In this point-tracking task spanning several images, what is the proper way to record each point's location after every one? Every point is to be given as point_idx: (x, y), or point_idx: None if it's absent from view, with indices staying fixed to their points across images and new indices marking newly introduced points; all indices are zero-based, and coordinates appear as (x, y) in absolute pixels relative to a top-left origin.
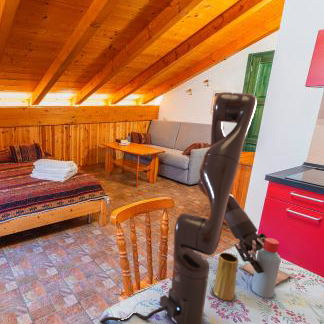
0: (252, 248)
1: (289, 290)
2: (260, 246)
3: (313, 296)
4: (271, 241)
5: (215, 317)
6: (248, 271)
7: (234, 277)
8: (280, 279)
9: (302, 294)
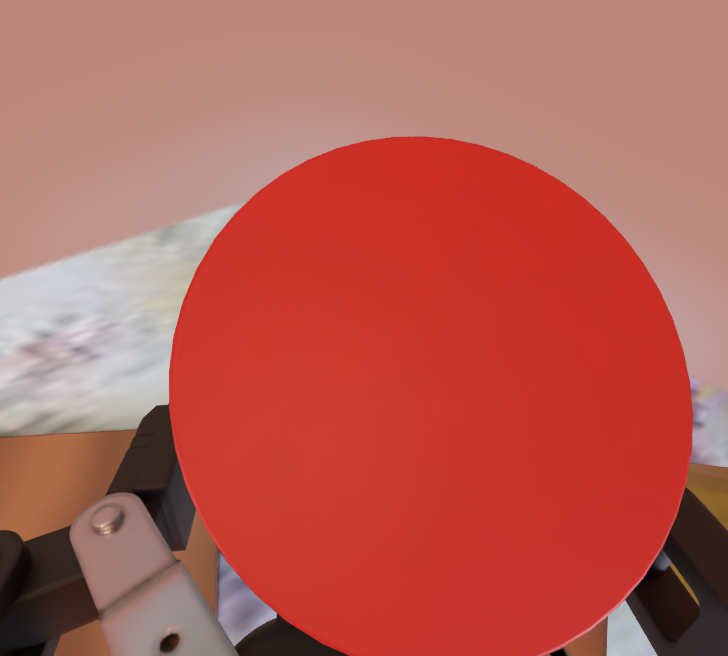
0: (605, 631)
1: (161, 362)
2: (292, 652)
3: (92, 275)
4: (531, 329)
5: (725, 402)
6: (215, 614)
7: (705, 469)
8: (96, 444)
9: (131, 310)
